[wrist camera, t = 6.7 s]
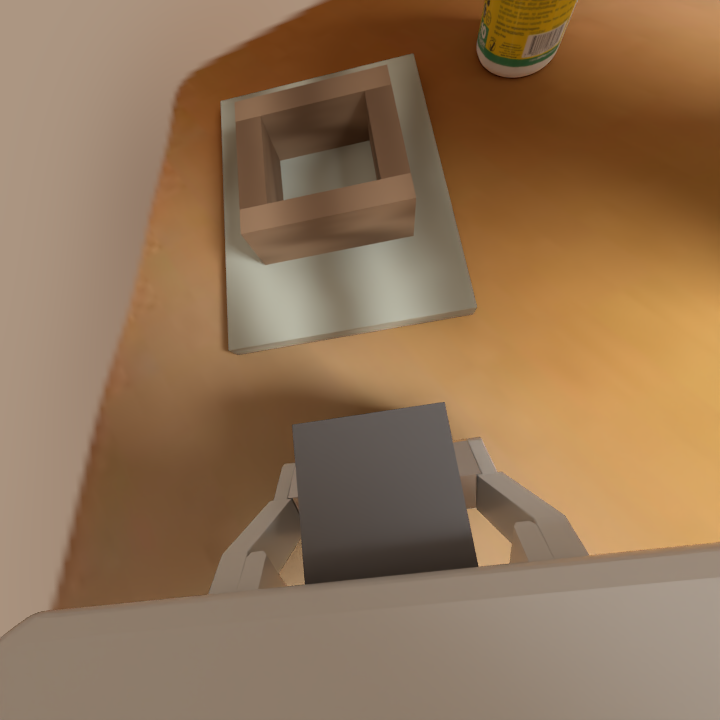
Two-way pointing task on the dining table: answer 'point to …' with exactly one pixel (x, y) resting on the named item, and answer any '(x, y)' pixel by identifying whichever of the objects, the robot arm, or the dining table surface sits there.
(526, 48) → the supplement bottle
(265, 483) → the dining table surface
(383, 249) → the socket holder
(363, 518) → the plug block
